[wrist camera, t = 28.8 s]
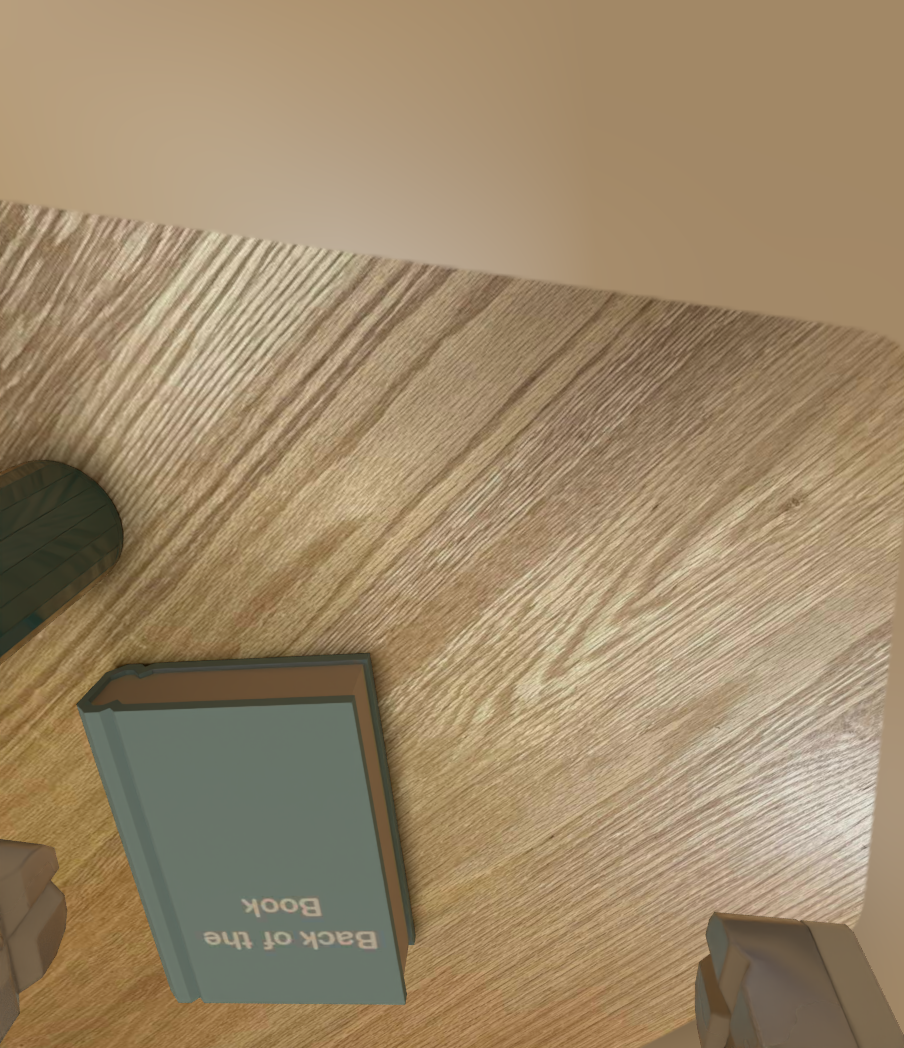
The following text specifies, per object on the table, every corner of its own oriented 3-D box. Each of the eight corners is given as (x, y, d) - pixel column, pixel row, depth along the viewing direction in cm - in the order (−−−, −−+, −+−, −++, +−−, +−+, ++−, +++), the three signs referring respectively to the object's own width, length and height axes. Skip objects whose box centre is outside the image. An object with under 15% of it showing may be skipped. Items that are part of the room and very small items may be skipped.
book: (415, 935, 52) (405, 1004, 48) (195, 936, 54) (164, 1002, 50) (369, 653, 44) (351, 702, 40) (113, 665, 46) (67, 713, 41)
